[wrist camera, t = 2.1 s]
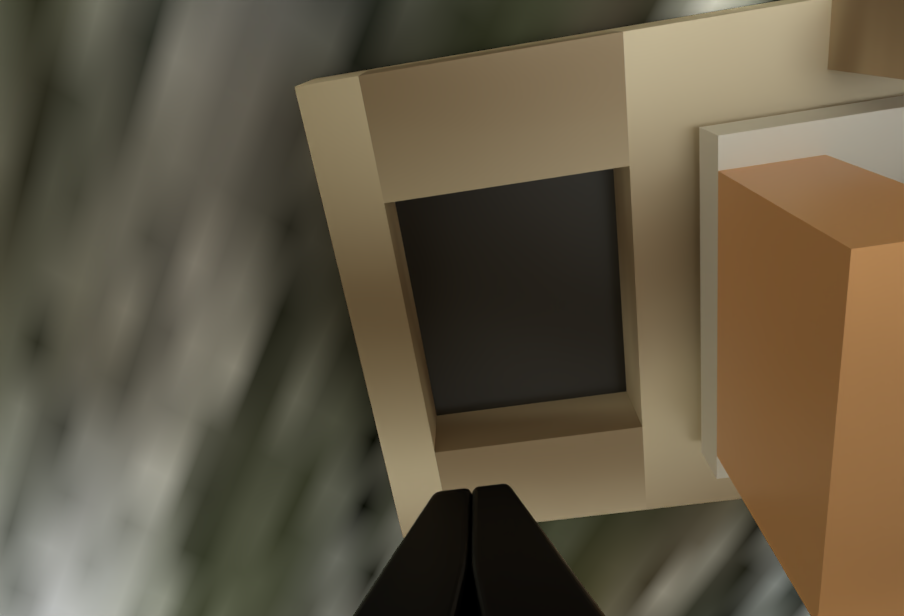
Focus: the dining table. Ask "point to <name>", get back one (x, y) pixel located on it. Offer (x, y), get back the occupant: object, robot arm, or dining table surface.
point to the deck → (558, 242)
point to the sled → (810, 342)
